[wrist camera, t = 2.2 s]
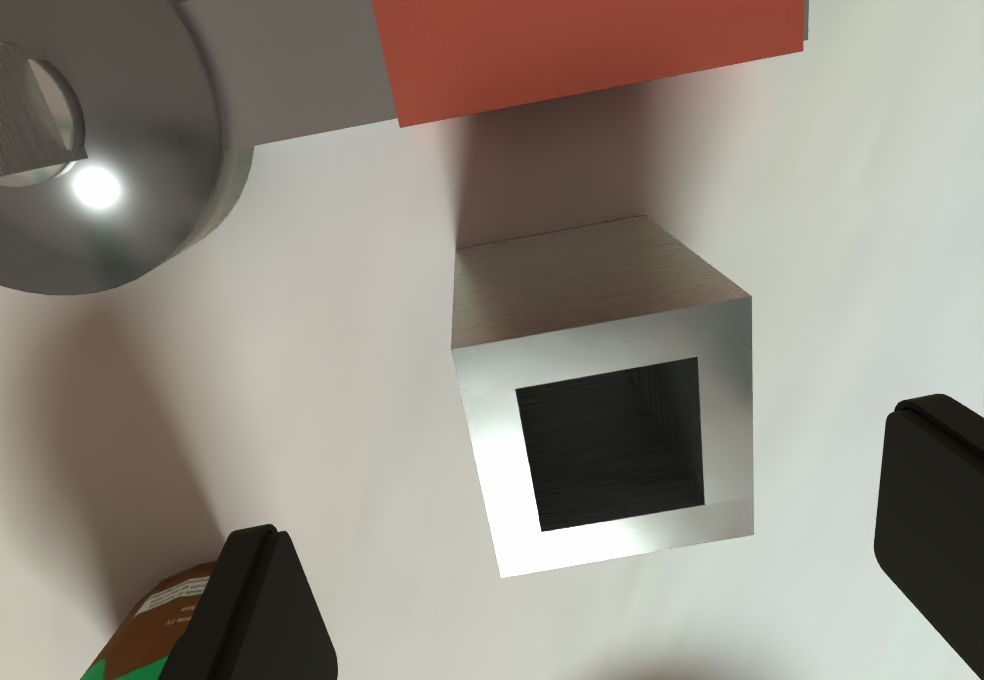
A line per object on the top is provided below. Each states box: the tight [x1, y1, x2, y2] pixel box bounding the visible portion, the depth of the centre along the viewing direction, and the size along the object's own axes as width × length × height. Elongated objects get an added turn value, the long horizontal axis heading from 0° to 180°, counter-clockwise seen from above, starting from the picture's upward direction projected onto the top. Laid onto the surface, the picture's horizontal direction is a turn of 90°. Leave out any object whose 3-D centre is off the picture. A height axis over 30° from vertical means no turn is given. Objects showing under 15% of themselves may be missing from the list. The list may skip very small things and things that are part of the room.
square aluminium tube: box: [451, 215, 754, 577], centre depth 15 cm, size 5×5×7 cm
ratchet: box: [0, 0, 809, 295], centre depth 13 cm, size 21×8×6 cm, turn 100°
